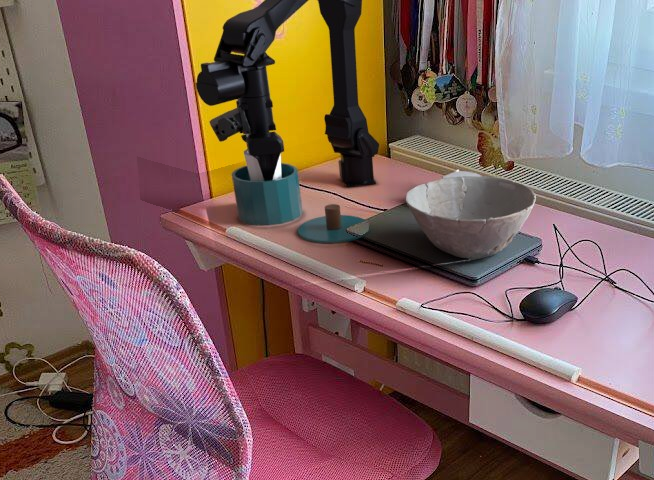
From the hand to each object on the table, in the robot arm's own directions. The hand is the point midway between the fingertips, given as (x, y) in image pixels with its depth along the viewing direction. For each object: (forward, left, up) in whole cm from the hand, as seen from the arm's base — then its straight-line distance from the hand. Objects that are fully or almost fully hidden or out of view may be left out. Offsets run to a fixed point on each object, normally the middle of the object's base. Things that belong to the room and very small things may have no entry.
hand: (266, 178), depth 164 cm
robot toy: (-36, +5, -8) cm, 37 cm away
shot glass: (0, 0, -2) cm, 2 cm away
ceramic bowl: (-31, +30, -8) cm, 44 cm away
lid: (-10, +13, -7) cm, 18 cm away
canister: (0, 0, -8) cm, 8 cm away
